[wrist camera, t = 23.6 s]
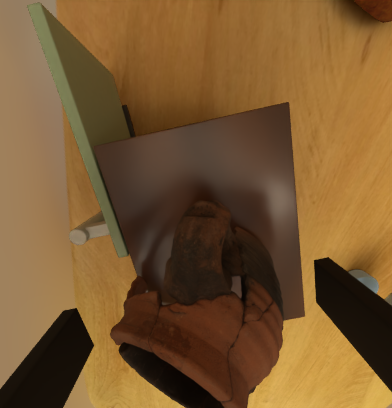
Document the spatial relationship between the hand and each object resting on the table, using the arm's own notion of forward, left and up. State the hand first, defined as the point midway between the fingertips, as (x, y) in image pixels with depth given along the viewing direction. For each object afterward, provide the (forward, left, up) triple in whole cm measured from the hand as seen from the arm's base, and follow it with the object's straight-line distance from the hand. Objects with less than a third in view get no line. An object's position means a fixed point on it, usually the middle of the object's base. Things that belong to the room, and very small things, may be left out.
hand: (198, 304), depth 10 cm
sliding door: (-7, +10, -15) cm, 19 cm away
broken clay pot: (+1, 0, -4) cm, 4 cm away
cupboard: (+1, +4, -16) cm, 16 cm away
